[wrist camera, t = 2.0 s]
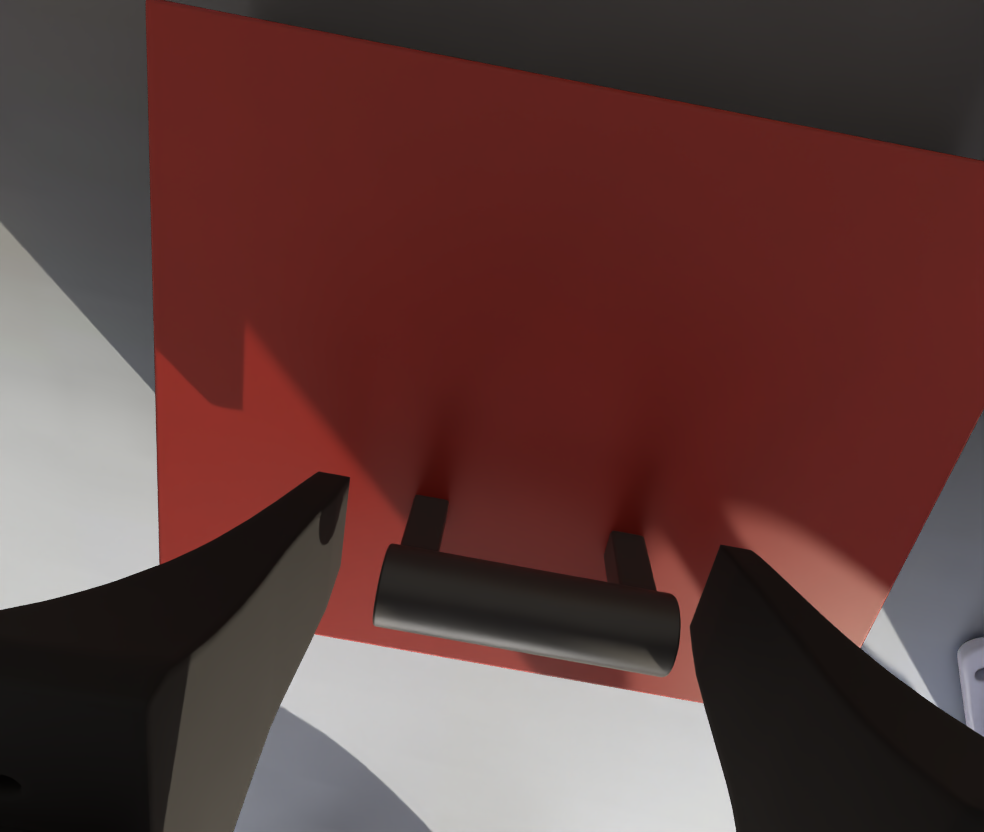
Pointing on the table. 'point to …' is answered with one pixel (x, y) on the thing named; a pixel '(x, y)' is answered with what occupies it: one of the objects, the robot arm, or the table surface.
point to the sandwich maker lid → (546, 341)
